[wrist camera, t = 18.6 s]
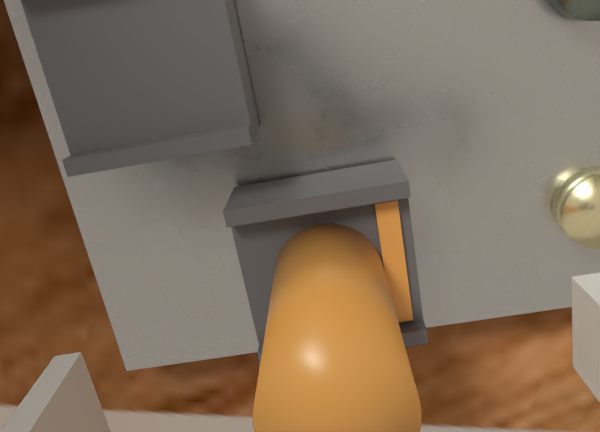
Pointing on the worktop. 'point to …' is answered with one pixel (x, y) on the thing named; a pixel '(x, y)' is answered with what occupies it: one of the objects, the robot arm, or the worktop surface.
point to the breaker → (143, 79)
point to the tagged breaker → (329, 209)
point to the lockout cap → (333, 341)
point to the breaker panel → (366, 162)
